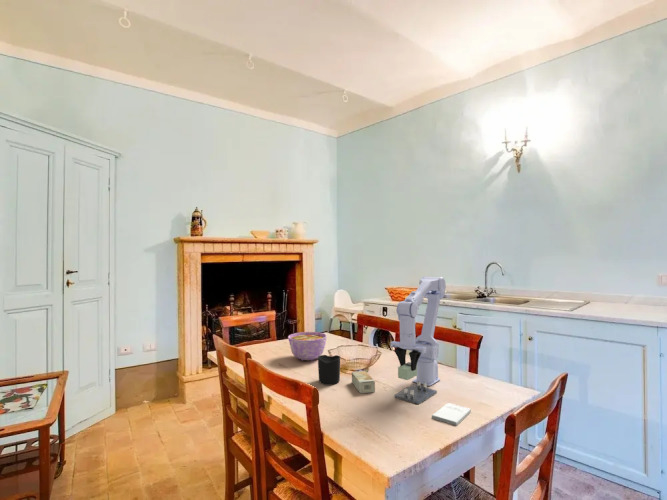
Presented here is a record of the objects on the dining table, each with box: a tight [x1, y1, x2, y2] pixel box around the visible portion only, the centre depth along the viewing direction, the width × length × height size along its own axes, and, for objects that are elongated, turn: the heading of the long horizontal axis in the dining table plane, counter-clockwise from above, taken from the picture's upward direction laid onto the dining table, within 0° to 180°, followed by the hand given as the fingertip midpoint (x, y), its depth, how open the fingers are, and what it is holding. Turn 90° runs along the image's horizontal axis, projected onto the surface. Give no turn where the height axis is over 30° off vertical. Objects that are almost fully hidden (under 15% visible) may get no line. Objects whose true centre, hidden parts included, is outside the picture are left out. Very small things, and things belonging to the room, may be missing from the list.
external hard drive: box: [431, 402, 472, 427], centre depth 118 cm, size 2×8×12 cm
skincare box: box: [351, 370, 376, 394], centre depth 143 cm, size 6×4×12 cm
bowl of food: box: [287, 331, 328, 361], centre depth 184 cm, size 20×20×12 cm
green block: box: [397, 361, 417, 381], centre depth 136 cm, size 7×4×5 cm, turn 137°
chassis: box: [393, 381, 438, 405], centre depth 134 cm, size 14×10×3 cm
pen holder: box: [317, 354, 341, 386], centre depth 151 cm, size 9×9×10 cm
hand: (408, 368), depth 137 cm, fingers closed on green block, 4 cm apart
